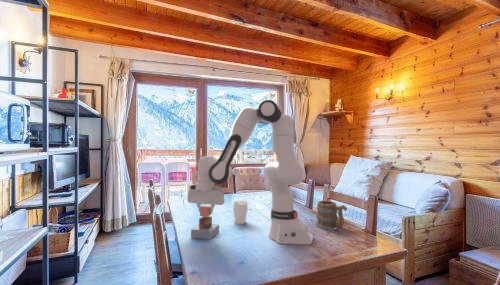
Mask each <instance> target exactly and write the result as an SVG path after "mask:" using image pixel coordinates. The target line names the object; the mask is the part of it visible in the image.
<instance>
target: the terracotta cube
mask: <svg viewBox="0 0 500 285" xmlns="http://www.w3.org/2000/svg"><path fill="white" fill-rule="evenodd" d="M211 207H212V206H211V205H208V204H203V205H201V207H200V212H199V216H200V217H202V216H207V217H208V216H211V215H212V213H209V209H211Z"/></svg>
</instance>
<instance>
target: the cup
mask: <svg viewBox="0 0 500 285" xmlns="http://www.w3.org/2000/svg"><path fill="white" fill-rule="evenodd" d="M232 206H233V207H232V209H233V217H234V223H235V224H237V225H243V224H246V222H247V214H248V209H249V208H248V202H247V201H242V200H241V201H234V202H233V205H232Z"/></svg>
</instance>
